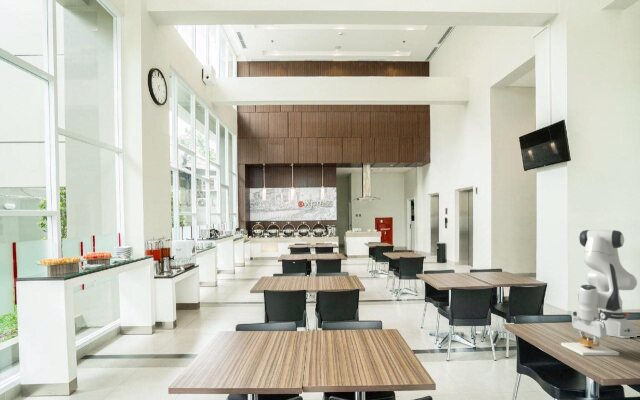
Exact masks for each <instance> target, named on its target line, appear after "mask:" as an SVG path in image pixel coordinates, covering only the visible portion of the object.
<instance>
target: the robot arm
mask: <svg viewBox="0 0 640 400" xmlns="http://www.w3.org/2000/svg"><path fill="white" fill-rule="evenodd" d="M578 239H579V244H580V245H581V246H582V247H584V252H583V253H584V254H583V260H584V263H585V265H586V266H587V267H588V268H590V269H592V270H589V271H588V272H587V274H586V281H587V283H588V284H583V285H580V286H579V292H578V304H579V306H578V310H573V311H571V314H572V317H571V324H572V327H573V329H576V330H578V333H579V335H580V337H587V335H585V333H586V334H588V335H591V336H593V337H592V338H593V339H594V340H592V343H593V344H597V341H599V339H606V338H607V336H608V337H611V336H612V337H615V338H620V339H630V337H634V338H638V337H637V336H640V333H638V332H637V329H636V326H635V324H633V323H632V322H630V321H629V320H628V319H627V318H628V317H629V316H630V314H629V313H627V312H623V300H622V298H621V296H620V291H633V290H635V289H636V287H637V285H638V280H637V277H635V276H634V274H632V273H630V272H629V271H628V270H626V269H625V268H624V267H623V265H622V264H621V259H620V256H619V250H618V248H619V249H620V248H621V247H623V246H624V243H625V237H624V234H623V233H622V232H621V231H619V230H617V229H616V230H614V229H613V230H611V229H594V230H593V229H592V230H589V229H585V230H582V231H581V232H580V234H579V237H578ZM626 317H627V318H626Z"/></svg>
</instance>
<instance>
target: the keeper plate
mask: <svg viewBox="0 0 640 400" xmlns="http://www.w3.org/2000/svg"><path fill="white" fill-rule="evenodd" d="M586 337H587V340H591V338H592V337H591V338H589V337H590V336H586ZM560 345H561V346H562V347H564V348H565V349H568V350H570V351H572V352H575V353H577V354H579V355H581V356H586V357H587V356H619V355H620V352H619V351H617V350H614V349H611V348H609V347H606V346H604V345H601V344H599V347H588V346H585V345H583V344H581V343H579V342H560Z"/></svg>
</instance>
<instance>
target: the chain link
mask: <svg viewBox="0 0 640 400" xmlns="http://www.w3.org/2000/svg"><path fill="white" fill-rule="evenodd" d="M587 337H589V338H591V340H587ZM592 340H594V337H591V336H586V337H581V336H579V337H578V343H581V344H583V345H585V346H588V347H599V345H600V340H598V341H597V344H593V343H592Z"/></svg>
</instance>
